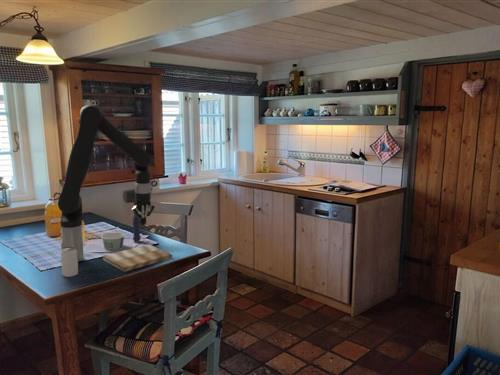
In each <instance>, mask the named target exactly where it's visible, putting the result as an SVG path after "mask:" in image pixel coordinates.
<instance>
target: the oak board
mask: <svg viewBox="0 0 500 375" xmlns="http://www.w3.org/2000/svg"><path fill="white" fill-rule="evenodd" d="M159 249H160V250H156V251H152V252H149V253H145V254H141V255H137V256H133V257H130V258H126V259H122V260H118V261H114V262H113V265H112V266H113V267H115V268H116V269H118V270H120V271H121V272H125V273H126V272H129V271H133V270H136V269H138V268H142V267H146V266H150V265H153V264H156V263H160V262H164V261H167V260H170V259H171V260H172V258H173V253H170V252H168V251H165V250H163V249H161V248H159Z"/></svg>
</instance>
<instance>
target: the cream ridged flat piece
mask: <svg viewBox="0 0 500 375" xmlns="http://www.w3.org/2000/svg"><path fill="white" fill-rule="evenodd" d="M160 249H161V248H158V247H156V246H154V245H151V244H144V245H141V246H138V247H134V248H129V249H124V250H121V251H117V252H114V253H113V252H112V253H109V254H106V255H103V256H102V260H103V261H104V262H106V263H108V264H109V265H112V266H113V262H114V261H118V260H122V259H126V258H130V257H133V256H137V255H141V254H145V253H149V252H152V251H156V250H160Z"/></svg>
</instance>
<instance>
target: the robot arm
mask: <svg viewBox="0 0 500 375" xmlns="http://www.w3.org/2000/svg"><path fill="white" fill-rule="evenodd" d="M79 117H80V121H79V127H78V131H77V132H78V133H77V136H76V138H75V141H74V143H73V144H72V148H71V150H70V153H69V154H70V155H69V157H68V161H67V162H68V163H67V166H66V167H67V168H66V173H65V181H64V183H63V187H62V189H61V193H60V195H59V198H58V200H57V206H58V207H57V208H58V209H59V210H60V212H61V217H60V233H61V234H60V235H61V243H60V250H61V251H62V248H64V247H69V246H73V247H76V250H77V260H78V262H80V261H83V260H84V258H85V256H84V240H83V238H84V237H83V223H82V221H83V202H82V201H83V200H82V197H81V195H80V193H81V190H82V189H81V187H82V185H83V183H84V181H85V178H86V176H87V174H88V171H89V168H90V165H91V161H92V156H93V152H94V147H95V146H94V145H95V140H96V135H97V133H98V132H99V133H101V134H102V135H104V136H105V137H106V138H107V139H108V140H109V141H110V142H111V143H112V144H113V145H114V146H115V147H116V148H117V149H119V150H120V151H121V152H123V153H124V154H125V155H127V156H128V157H130V159H132V160H133V163H134V170H135V185H134V189H135V201H136V203H135V207H131V208H130V210H131V212H132V214H133V215H134V214H135V215H136V216H137V217H139V220H140V226H146V224H147V218H148V217H149V216H151V214H152V213H153V211H154V209H155V205H152V202H151V196H152V195H151V191H152V190H151V173H150V171H149V166H150V165H151V163H152V157H151V155H150V154H149V153H148V152H146V151H145V150H144V149H142V148H141V147H140V146H138V145H137V143H136V142H134V141H133V140H132V139H131V138H129V137H128V136H127V135H126V134H125V133H124V132H122V131H121V130H120V129H118V128H117V127H116V126H114V125H113V124H112V123H111V122H110V121H109V120H108V119H107V118H106V116H104V115H103V113H102V112H101V110H100V108H99V107H97V106H96V105H94V104H93V105H92V104H86V105H83V107H81V109H80V111H79ZM137 209H138V212H137ZM61 251H60V252H61Z"/></svg>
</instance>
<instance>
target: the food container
mask: <svg viewBox="0 0 500 375" xmlns="http://www.w3.org/2000/svg"><path fill="white" fill-rule="evenodd" d="M125 236H126V234H125V233H124V232H119V231H118V232H116V231H114V232H107V233H104V234H102V235H101V237H100V238H101V239H102V243H103V247H104V249H105V250H106V249H107V251H117V250H120V248H121V249H123V246H124V241H125Z"/></svg>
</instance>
